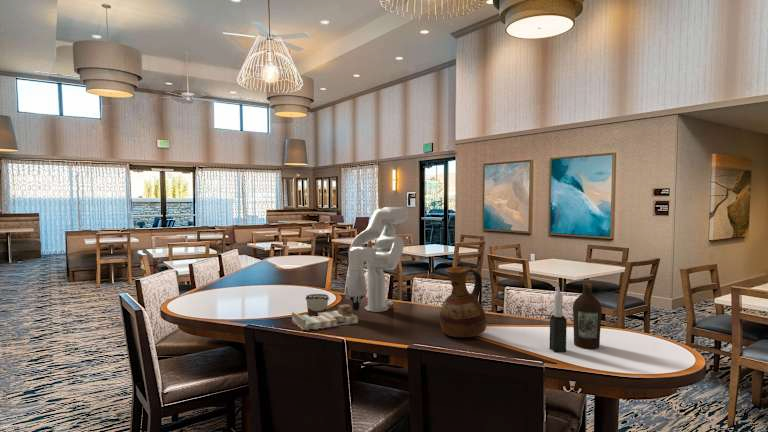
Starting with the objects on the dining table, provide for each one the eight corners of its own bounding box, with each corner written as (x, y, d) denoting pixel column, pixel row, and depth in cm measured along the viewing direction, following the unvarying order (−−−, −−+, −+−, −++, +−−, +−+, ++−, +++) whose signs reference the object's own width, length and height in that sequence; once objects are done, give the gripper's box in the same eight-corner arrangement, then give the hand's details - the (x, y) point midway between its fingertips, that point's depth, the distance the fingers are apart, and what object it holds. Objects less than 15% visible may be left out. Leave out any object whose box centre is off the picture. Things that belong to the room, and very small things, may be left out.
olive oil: (571, 340, 181) (572, 281, 180) (599, 343, 177) (600, 282, 176) (572, 347, 171) (573, 285, 170) (602, 351, 167) (603, 287, 166)
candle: (548, 348, 170) (549, 285, 169) (560, 347, 171) (561, 285, 170) (554, 352, 165) (555, 288, 164) (567, 352, 165) (568, 287, 165)
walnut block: (347, 312, 214) (347, 304, 214) (351, 314, 210) (351, 306, 210) (338, 313, 211) (338, 305, 211) (342, 315, 207) (342, 307, 207)
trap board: (343, 315, 219) (343, 305, 219) (357, 322, 205) (357, 312, 205) (292, 322, 205) (292, 312, 205) (303, 331, 192) (303, 319, 192)
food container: (331, 312, 224) (331, 293, 224) (328, 315, 218) (328, 296, 218) (308, 312, 225) (308, 293, 225) (305, 315, 219) (305, 295, 219)
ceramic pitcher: (431, 331, 193) (432, 264, 192) (469, 326, 201) (469, 262, 200) (455, 344, 175) (456, 271, 174) (495, 338, 183) (496, 268, 182)
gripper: (365, 271, 220) (365, 306, 220) (339, 273, 213) (339, 310, 213) (373, 273, 214) (372, 309, 214) (345, 275, 206) (345, 313, 206)
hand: (355, 309), depth 213 cm, fingers closed
